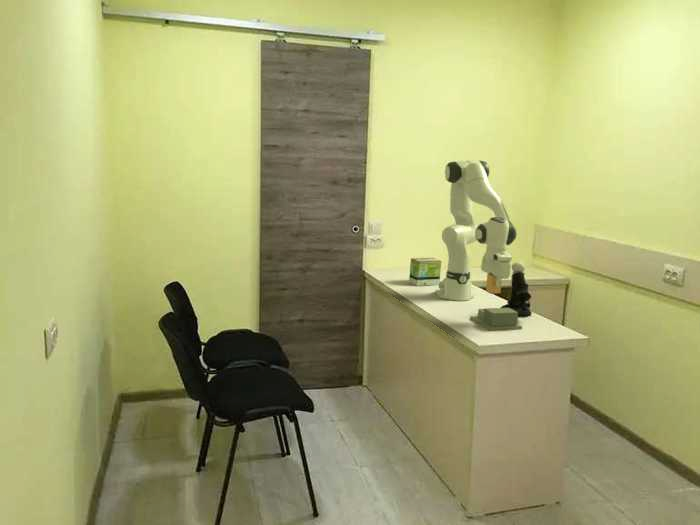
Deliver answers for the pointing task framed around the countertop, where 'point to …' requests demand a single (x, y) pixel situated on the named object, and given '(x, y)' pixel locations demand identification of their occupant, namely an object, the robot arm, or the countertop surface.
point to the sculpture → (519, 291)
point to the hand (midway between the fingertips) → (493, 284)
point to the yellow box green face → (492, 284)
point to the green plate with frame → (497, 318)
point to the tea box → (425, 271)
